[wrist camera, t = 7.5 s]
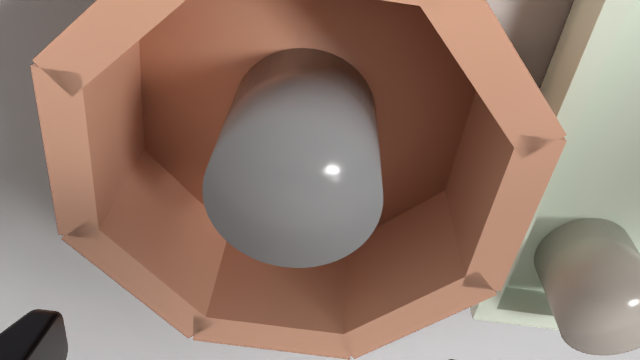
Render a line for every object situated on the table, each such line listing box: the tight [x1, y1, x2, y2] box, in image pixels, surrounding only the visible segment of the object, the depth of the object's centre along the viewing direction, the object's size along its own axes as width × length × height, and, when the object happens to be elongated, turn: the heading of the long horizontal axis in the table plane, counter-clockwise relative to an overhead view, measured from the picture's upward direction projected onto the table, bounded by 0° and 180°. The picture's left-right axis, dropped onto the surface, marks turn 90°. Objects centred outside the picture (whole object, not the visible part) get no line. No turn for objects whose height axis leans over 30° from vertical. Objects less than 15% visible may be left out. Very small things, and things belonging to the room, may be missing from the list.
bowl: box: [30, 0, 567, 359], centre depth 15 cm, size 11×11×4 cm
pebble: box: [534, 218, 640, 355], centre depth 17 cm, size 3×3×3 cm
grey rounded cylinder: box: [202, 48, 383, 268], centre depth 14 cm, size 4×4×4 cm
